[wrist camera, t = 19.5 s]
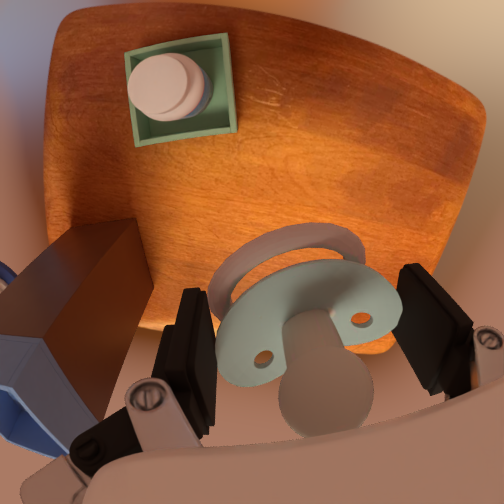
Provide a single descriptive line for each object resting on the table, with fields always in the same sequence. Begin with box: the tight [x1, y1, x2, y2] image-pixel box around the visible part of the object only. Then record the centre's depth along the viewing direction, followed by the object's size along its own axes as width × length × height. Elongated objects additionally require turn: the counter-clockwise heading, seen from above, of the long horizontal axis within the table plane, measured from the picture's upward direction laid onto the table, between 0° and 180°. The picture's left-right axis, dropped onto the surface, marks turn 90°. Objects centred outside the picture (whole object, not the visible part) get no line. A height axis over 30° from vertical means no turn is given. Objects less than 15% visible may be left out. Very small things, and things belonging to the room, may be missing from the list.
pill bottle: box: [128, 53, 213, 121], centre depth 23 cm, size 6×6×11 cm
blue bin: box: [0, 218, 154, 459], centre depth 26 cm, size 10×10×27 cm
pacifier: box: [207, 223, 403, 438], centre depth 9 cm, size 7×6×6 cm
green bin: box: [124, 33, 238, 147], centre depth 27 cm, size 10×10×5 cm
